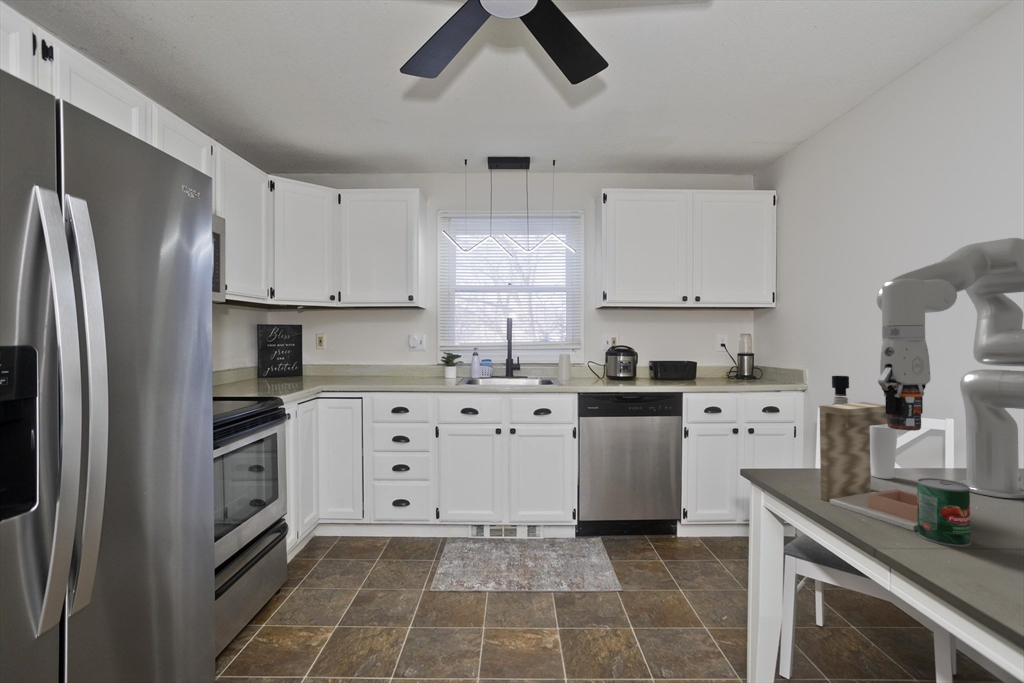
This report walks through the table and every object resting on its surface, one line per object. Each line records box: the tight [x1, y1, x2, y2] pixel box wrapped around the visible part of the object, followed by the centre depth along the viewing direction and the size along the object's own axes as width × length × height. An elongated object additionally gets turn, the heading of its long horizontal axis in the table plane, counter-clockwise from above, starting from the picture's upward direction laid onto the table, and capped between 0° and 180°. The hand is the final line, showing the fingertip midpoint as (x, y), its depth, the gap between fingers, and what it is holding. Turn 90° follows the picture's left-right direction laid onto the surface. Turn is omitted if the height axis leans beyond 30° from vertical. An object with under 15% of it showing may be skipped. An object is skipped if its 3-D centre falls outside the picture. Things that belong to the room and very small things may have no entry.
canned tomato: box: [916, 477, 972, 548], centre depth 94 cm, size 8×8×11 cm
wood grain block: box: [819, 401, 887, 502], centre depth 118 cm, size 16×7×24 cm, turn 110°
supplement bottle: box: [887, 381, 922, 432], centre depth 106 cm, size 6×6×11 cm
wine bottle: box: [831, 375, 850, 405], centre depth 129 cm, size 6×6×30 cm
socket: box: [829, 488, 918, 532], centre depth 109 cm, size 16×18×4 cm
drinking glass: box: [870, 424, 898, 480], centre depth 136 cm, size 7×7×15 cm
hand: (904, 413), depth 106 cm, fingers closed on supplement bottle, 6 cm apart
